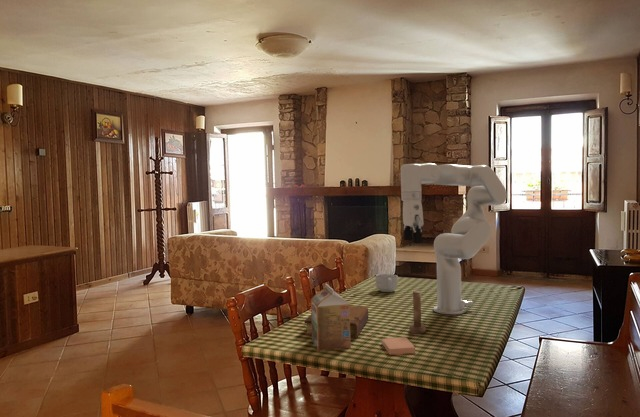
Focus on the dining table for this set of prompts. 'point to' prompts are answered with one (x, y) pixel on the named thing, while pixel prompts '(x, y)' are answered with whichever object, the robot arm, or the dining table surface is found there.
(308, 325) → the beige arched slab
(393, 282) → the teacup
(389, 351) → the tile
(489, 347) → the dining table surface
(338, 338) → the milk carton
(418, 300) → the post
